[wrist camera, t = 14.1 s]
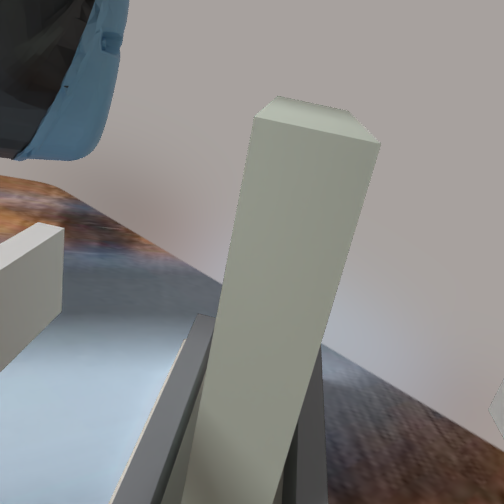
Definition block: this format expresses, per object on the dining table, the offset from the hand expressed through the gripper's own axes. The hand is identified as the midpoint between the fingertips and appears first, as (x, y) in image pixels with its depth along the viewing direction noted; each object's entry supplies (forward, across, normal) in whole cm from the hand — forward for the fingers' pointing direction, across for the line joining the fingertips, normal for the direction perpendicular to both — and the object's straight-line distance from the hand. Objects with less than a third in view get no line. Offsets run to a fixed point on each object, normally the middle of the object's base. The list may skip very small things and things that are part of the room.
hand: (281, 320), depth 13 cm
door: (+4, 0, -11) cm, 11 cm away
